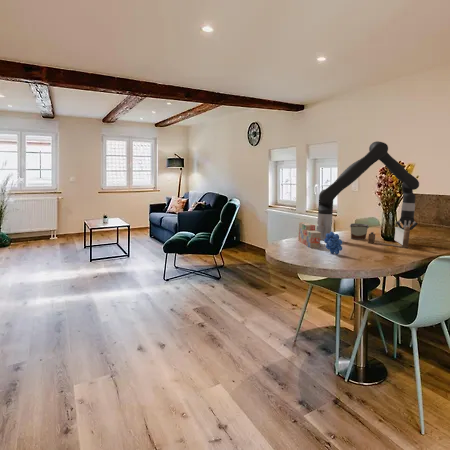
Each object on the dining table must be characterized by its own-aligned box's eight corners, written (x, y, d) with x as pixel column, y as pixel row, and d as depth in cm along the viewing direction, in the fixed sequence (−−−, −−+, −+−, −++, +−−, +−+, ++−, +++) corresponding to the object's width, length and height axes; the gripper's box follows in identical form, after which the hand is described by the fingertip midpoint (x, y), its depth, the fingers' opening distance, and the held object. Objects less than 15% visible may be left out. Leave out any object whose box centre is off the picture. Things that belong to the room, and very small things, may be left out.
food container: (365, 237, 239) (366, 223, 237) (367, 239, 233) (369, 225, 231) (346, 237, 240) (347, 223, 238) (348, 238, 234) (350, 224, 232)
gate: (405, 245, 211) (407, 231, 209) (402, 245, 211) (403, 231, 210) (397, 240, 228) (398, 227, 227) (393, 239, 229) (395, 226, 227)
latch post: (372, 243, 219) (373, 232, 218) (367, 243, 221) (368, 232, 220) (374, 243, 221) (375, 232, 220) (370, 242, 223) (371, 231, 222)
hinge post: (407, 248, 207) (409, 227, 205) (401, 247, 209) (403, 226, 207) (408, 247, 209) (411, 226, 207) (403, 246, 211) (405, 226, 209)
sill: (400, 247, 209) (400, 246, 209) (374, 243, 220) (374, 242, 220) (402, 246, 212) (402, 245, 212) (377, 242, 223) (377, 241, 223)
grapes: (318, 252, 191) (320, 231, 189) (326, 250, 195) (327, 230, 193) (336, 256, 182) (338, 234, 180) (344, 255, 186) (346, 233, 184)
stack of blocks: (320, 248, 203) (321, 227, 201) (309, 248, 202) (311, 227, 200) (307, 240, 224) (308, 222, 222) (297, 240, 223) (299, 222, 221)
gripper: (397, 209, 219) (395, 236, 222) (421, 210, 216) (418, 238, 219) (395, 208, 227) (393, 234, 229) (417, 209, 223) (415, 236, 226)
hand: (405, 236), depth 224 cm, fingers closed
